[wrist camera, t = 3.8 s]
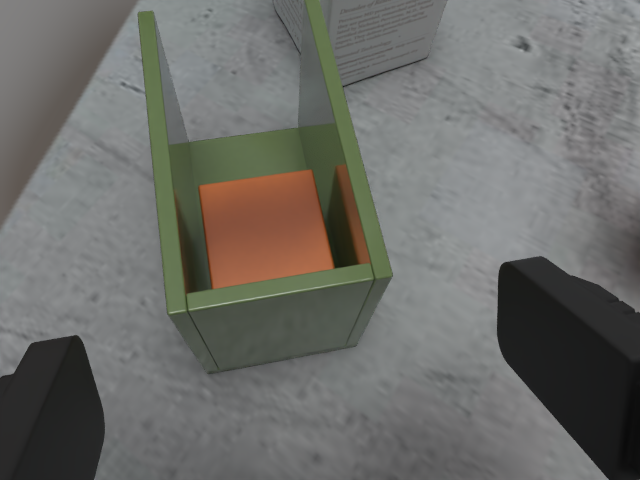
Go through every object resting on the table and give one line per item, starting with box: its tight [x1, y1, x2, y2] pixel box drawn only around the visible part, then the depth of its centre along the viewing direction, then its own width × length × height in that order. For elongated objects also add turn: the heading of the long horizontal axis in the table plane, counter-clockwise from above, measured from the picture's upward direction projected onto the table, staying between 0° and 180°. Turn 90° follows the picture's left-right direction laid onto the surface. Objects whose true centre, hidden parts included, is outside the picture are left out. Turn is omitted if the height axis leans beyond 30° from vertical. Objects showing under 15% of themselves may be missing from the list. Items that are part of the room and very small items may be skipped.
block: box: [198, 169, 335, 289], centre depth 20 cm, size 4×4×4 cm
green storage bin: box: [138, 0, 393, 374], centre depth 20 cm, size 10×6×8 cm, turn 11°
